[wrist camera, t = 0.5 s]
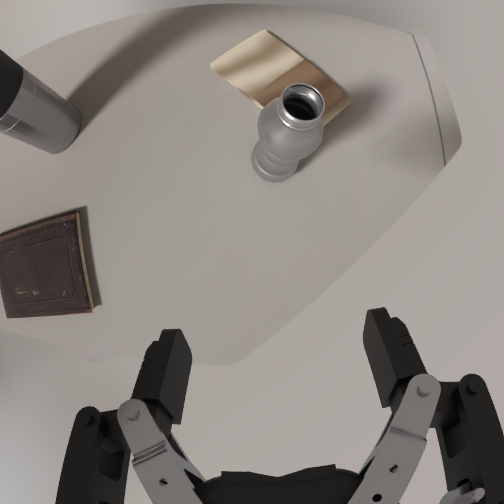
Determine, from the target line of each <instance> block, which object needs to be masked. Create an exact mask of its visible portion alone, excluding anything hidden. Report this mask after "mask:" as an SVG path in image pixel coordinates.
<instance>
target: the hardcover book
mask: <svg viewBox="0 0 504 504" xmlns="http://www.w3.org/2000/svg"><path fill="white" fill-rule="evenodd" d="M79 213H80V211H74V212H70V213H67V214H63V215H60V216H56V217H53V218H50V219H47V220H43V221H40V222H37V223H34V224H31V225H28V226H25V227H22V228H19V229H16V230H13V231H11V232H8V233H5V234H2V235H0V289H1V294H2V299H3V303H4V308H5V312H6V316H7V318H23V317H40V316H55V315H68V314H80V313H91V312H92V309H94V303H93V299H92V294H91V290H90V285H89V280H88V274H87V269H86V263H85V257H84V250H83V243H82V235H81V226H80V216H79Z"/></svg>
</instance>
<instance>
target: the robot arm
mask: <svg viewBox="0 0 504 504" xmlns="http://www.w3.org/2000/svg"><path fill="white" fill-rule="evenodd" d="M80 124H81V116H80V113H79V111H78V110H77V108H75V107H74V106H73V105H71V104H70V103H69V102H68V101H66V100H65V99H64V98H62V97H61V96H60V95H59V94H57V93H56V92H55V91H53V90H52V89H51V88H49V87H48V86H47V85H45V84H44V83H43V82H41V81H40V80H39V79H38V78H36V77H35V76H34V75H32V74H31V73H29V72H28V71H27V70H25V69H24V68H23V67H22V66H20V65H19V64H18V63H16V62H15V61H14V60H13V59H11V58H10V57H9V56H8V55H7V54H5V53H4V52H3V51H1V50H0V132H1V133H3V134H5V135H8V136H10V137H13V138H15V139H18V140H20V141H22V142H25V143H27V144H30V145H32V146H34V147H37V148H39V149H41V150H44V151H46V152H49V153H51V154H56V153H59V152H61V151H63V150H65V149H66V148H67V147H68V146H69V145H70V144H71V143H72V142H73V140H74V139H75V137H76V135H77V134H78V131H79V128H80ZM363 343H364V348H365V351H366V354H367V357H368V360H369V363H370V366H371V370H372V373H373V377H374V380H375V383H376V387H377V390H378V394H379V397H380V401H381V405H382V408H386V407H389V406H390V407H391V411H392V414H391V416H390V418H389V420H388V422H387V424H386V426H385V428H384V430H383V432H382V434H381V436H380V438H379V440H378V442H377V444H376V446H375V447H374V449H373V451H372V452H371V454H370V456H369V457H368V459H367V460H366V462H365V463H364V465H363V467H362V468H361V470H360V472H359V473H355V472H353V471H349V470H345V469H336V466H335V464H332V465H327V466H320V467H312V468H306V469H303V470H300V471H297V472H294V473H291V474H287V475H284V476H281V477H274V476H268V475H263V474H258V473H253V472H229V471H222V474H221V476H219V477H215V478H212V479H210V480H207V481H206V480H205V478H204V477H203V476H202V475H201V473H200V472H199V471H198V470H197V469H196V467H195V466H194V465H193V464H192V463H191V462H190V460H189V459H188V457H187V456H186V454H185V453H184V451H183V450H182V448H181V446H180V445H179V443H178V442H177V440H176V438H175V437H174V435H173V434H172V432H171V427H172V424H181V419H182V413H183V407H184V402H185V396H186V391H187V386H188V380H189V374H190V369H191V365H192V353H191V350H190V348H189V346H188V343H187V341H186V339H185V337H184V335H183V333H182V331H181V329H164V330H162V332H161V335H160V338H159V341H153V342H152V344H151V345H150V346H149V347H148V349H147V350H146V353H145V356H144V359H143V360H144V361H143V362H142V366H141V369H140V371H139V374H138V378H137V381H136V384H135V387H134V390H133V394H132V397H131V399H130V400H127V401H125V402H124V403H123V404H121V406H120V407H119V409H117V410H111V411H105V412H99V411H98V410H97V409H96V408H95V407H91V406H87V407H84V408H82V409H81V410H80V411H79V412H78V413H77V415H76V418H75V421H74V425H73V428H72V431H71V435H70V439H69V442H68V446H67V450H66V454H65V458H64V462H63V467H62V472H61V477H60V481H59V486H58V491H57V497H56V503H55V504H124V497H125V489H126V481H127V474H128V467H129V461H130V454H131V452H132V454H133V456H134V460H132V464H133V467H134V469H135V471H136V473H137V475H138V477H139V479H140V481H141V483H142V485H143V487H144V488H145V490H146V492H147V494H148V496H149V497H150V499H151V501H152V502H153V504H399V501H400V499H401V497H402V495H403V494H404V492H405V490H406V488H407V486H408V484H409V482H410V480H411V478H412V476H413V474H414V472H415V470H416V468H417V466H418V463H419V461H420V459H421V457H422V454H423V452H424V449H425V447H426V443H427V440H426V434H427V432H428V429H429V428H435V429H436V433H437V437H438V441H439V446H440V450H441V455H442V460H443V465H444V471H445V477H446V483H447V490H448V492H447V493H446V494H445V495H444V496H443V498H442V499H441V501H440V503H439V504H504V435H503V431H502V428H501V425H500V422H499V419H498V416H497V413H496V410H495V407H494V404H493V401H492V399H491V396H490V393H489V392H488V389H487V386H486V383H485V381H484V380H483V379H482V378H481V377H480V376H479V375H476V374H468V375H466V376H464V377H463V378H462V379H461V381H460V382H440V381H438V380H437V379H436V378H435V377H433V376H432V375H429V374H428V373H427V371H426V369H425V367H424V364H423V362H422V360H421V358H420V355H419V353H418V351H417V349H416V347H415V344H413V340H412V338H411V336H410V334H409V331H408V329H407V328H406V325H405V324H404V323H403V322H402V321H401V320H400V319H399V318H397V317H394V318H390V316H389V314H388V312H387V310H386V308H385V307H382V308H376V309H371V310H368V311H367V314H366V321H365V325H364V331H363Z"/></svg>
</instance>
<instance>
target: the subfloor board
mask: <svg viewBox="0 0 504 504" xmlns="http://www.w3.org/2000/svg"><path fill="white" fill-rule="evenodd" d="M210 66H211V68H212V69H213V70H215V71H216V72H217V73H219V74H220V75H221V76H222V77H224V78H225V79H226V80H227V81H229V82H230V83H231V84H232V85H234V86H235V87H236V88H237V89H238V90H240V91H241V92H242V93H243V94H244V95H246V96H247V97H248V98H249V99H250V100H251V101H253V102H254V103H255V104H256V105H257V106H258V107H259V108H261V109H262V110H263V108H264V107H265V106H266V105H267V104H268V103H269V102H271V101H272V100H274V99H275V98H278V97H280V96H281V93H282V92H283V90H284V89H285V88H286V87H287V86H289V85H290V84H293V83H306V84H309V85H311V86H313V87H315V88H316V89H317V90H318V91H319V92H320V93H321V95H322V96H323V98H324V102H325V109H324V113H323V115H322V116H321V117H322V120H323V126H326V125H327V124H328V123H329V122H330V121H331V120H333V119H334V118H335V117H336V116H337V115H338V114H340V113H341V112H342V111H343V110H344V109H345V108H347V107H348V106H349V105H350V104H351V103H352V101H351V100H350V99H349V98H348V97H347V96H346V94H344V93H343V92H342V91H341V90H340V89H339V88H338V87H337V86H336V85H335V84H334V83H333V82H331V81H330V80H329V79H328V78H327V77H326V76H325V75H324V74H322V73H321V72H320V71H319V70H318V69H317V68H315V67H314V66H313V65H312V64H310V63H309V62H308V61H307V60H306V59H303V58H302V57H301V56H299V55H298V54H297V53H296V52H294V51H293V50H292V49H290V48H289V47H288V46H286V45H285V44H284V43H282V42H281V41H279V40H278V39H277V38H275V37H274V36H272V35H271V34H270V33H268V32H267V31H265V30H264V29H263V30H262V31H260V32H258V33H256V34H255V35H253V36H251V37H250V38H248V39H246V40H245V41H243V42H242V43H240V44H238V45H237V46H235V47H234V48H232V49H231V50H229V51H228V52H226V53H225V54H223V55H222V56H220V57H219V58H217V59H216V60H214V61H213V62H212V63H210Z"/></svg>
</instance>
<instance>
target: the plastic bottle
mask: <svg viewBox="0 0 504 504" xmlns="http://www.w3.org/2000/svg"><path fill="white" fill-rule="evenodd" d="M324 109H325V102H324V98H323V96H322V95H321V93H320V92H319V91H318V90H317V89H316V88H315V87H313V86H311V85H309V84H306V83H293V84H290V85H289V86H287V87H286V88H285V89H284V90H283V92H282V93H281V96H280V97H278V98H275V99H274V100H272V101H271V102H269V103H268V104H267V105H266V106H265V107H264V108H263V110H262V111H261V113H260V115H259V118H258V134H259V141H258V142H257V144H256V145H255V147H254V148H253V151H252V156H251V159H252V165H253V167H254V170H255V171H256V173H257V174H258V175H259V176H260V177H261V178H262V179H264V180H266V181H269V182H282V181H285V180H287V179H289V178H290V177H291V176H292V175H293V174H294V173H295V171H296V170H297V167H298V164H299V160H301V159H303V158H305V157H307V156H309V155H310V154H312V153H313V152H314V151H315V150H316V149H317V148H318V147H319V145H320V143H321V141H322V138H323V129H324V126H323V120H322V117H321V116H322V115H323V113H324Z"/></svg>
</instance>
